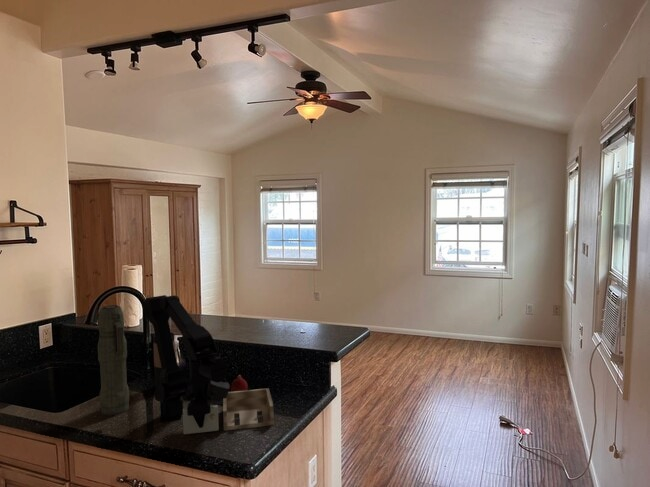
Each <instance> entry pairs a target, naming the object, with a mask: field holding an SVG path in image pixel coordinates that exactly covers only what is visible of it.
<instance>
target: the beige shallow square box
mask: <svg viewBox="0 0 650 487" xmlns="http://www.w3.org/2000/svg"><path fill="white" fill-rule="evenodd" d="M222 400H223V401H222V405H223V407H222V410H223V411H222V414H223V416H222V417H223V431H233V430H241V429H252V428H260V427H267V426H274V425H275V422H274V421H275V420H274V419H275V418H274V415H275V414H274V411H275V410H274V403H273V399H272V395H271V392H270V388H258V389H257V388H256V389H247V390H245V391H234V392H232V391H228V394H227V397H226V398H225V399H224V398H222Z"/></svg>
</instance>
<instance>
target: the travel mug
mask: <svg viewBox="0 0 650 487" xmlns="http://www.w3.org/2000/svg"><path fill="white" fill-rule="evenodd" d="M171 336H172V341H173V345H174V350H175V351H176V347H175V346H176V343H175V342H176V341H175V333H174V332H171ZM152 339H153V365H154V380H155V382H154V384H155V390H156V389H157V388H158V386H159V381H158V379H159V376H160V373H161V370H162V367H161V362H160V357H159V353H158V348H157V343H156V338H155V334H154V335H153V338H152Z"/></svg>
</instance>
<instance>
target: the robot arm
mask: <svg viewBox="0 0 650 487" xmlns="http://www.w3.org/2000/svg"><path fill="white" fill-rule="evenodd" d="M142 302H143V303H142V304H141V305H142V310H143V312H144V316H145V319H146V320H147V321H148V322H150V324H152V328H153V332H154V335H155V338H156V343H157V348H158V353H159V357H160V362H161V367H162V370H161V373H160V376H159V379H158V381H159V386H158V388H157V389H156V388H155V391H154V392H153V395H154V400H156V401H157V402H159V404H160V405H159V406H160V408H159V410H160V413H159V414H160V417H159V421H160V422H164V421H165V422H167V421H173V420H181V419H182V418H183V409H184V408H185V406H184V399H182V397H184V396H187V392H188V388H189V399H190V401H189V402H188V404H187V407H186V408H187V415H188V416H192V415H193V417H194V419H195V421H196V422H197V424H198V426H199V428H202V427H203V424H204V418H205V414H209V413H210V411H211V406H212V404H211V401H212V396H216V397H220V398H221V399H223V398H224V399H225V398H226V397H227V394H228V392H230V391H229V390H230V389H231V386H230V384H229V382H228V381H227V380H226V378H227V376H228V373H229V368H228V365H227V364H226V363H225V362H223V361H222V357H221V356H218V355H219V354H220V352H219V350H218V348H219V347H218V345H217V344H216V343H215V340H214V338H213V335H212V333H210V331H208V329H206V328H205V326H202V325H201V324H197V323H196V322H195V320H194V319H193V318H192V316H191V315H190V313H189V312H188V311H187V310H186V308H185V307H184V305H183V304H182V303H181V300H180V298H179V296H178V295H175V294H174V295H169V296H167V295H165V294H164V295H157V296H150V297H146V298H145V299H144V301H142ZM170 319H171V321H172V322H173V324H174V325H175V326H176V328H177V329H178V331H179V332H180V334H181V335H182V338H181V343H182V344H183V347H184V349H185V351H186V352H187V353H186V354H185V358H187V359H188V364H189V367H188V368H189V370H188V371H189V380H188V377H187V372H186V370H185V369H184V368H181V366H179V364H178V361H177V356H176V349H175V350H174V345H173V341H172V336H171V333H172V332H171V326H170V323H169V321H170ZM188 386H189V387H188Z"/></svg>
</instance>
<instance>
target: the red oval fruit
mask: <svg viewBox="0 0 650 487" xmlns="http://www.w3.org/2000/svg"><path fill="white" fill-rule="evenodd" d="M247 382H248V381H246V380H245V379H244V378H243V377H242V375H241V374H239V375H238V376H237V377H236V378H235V379H234V380H233V381H232V382H231V386H230V392H234V391H245V390H249V388H248V385H249V384H248V383H247Z"/></svg>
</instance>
